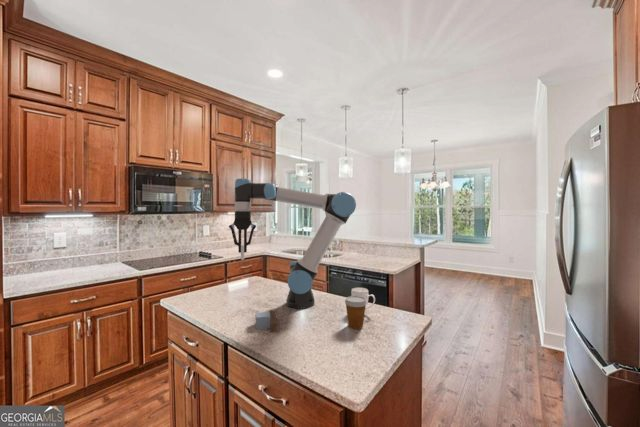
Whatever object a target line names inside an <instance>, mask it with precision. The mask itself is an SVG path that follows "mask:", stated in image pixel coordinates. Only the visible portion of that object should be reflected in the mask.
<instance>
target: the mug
mask: <svg viewBox="0 0 640 427" xmlns="http://www.w3.org/2000/svg"><path fill="white" fill-rule="evenodd" d="M350 294H351V295H350V296H360V297H363V298H365V299H366V302H367V304H366V306H365V311H366V310H368V309H369V308H371V307H372V306H374V305H375V302H376V297H375V295H374V294H369V289H368V288H366V287H353V288H351V293H350ZM369 297H372V298H373V302H372V304H370V305H369V306H368V302H369ZM367 306H368V307H367Z"/></svg>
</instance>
